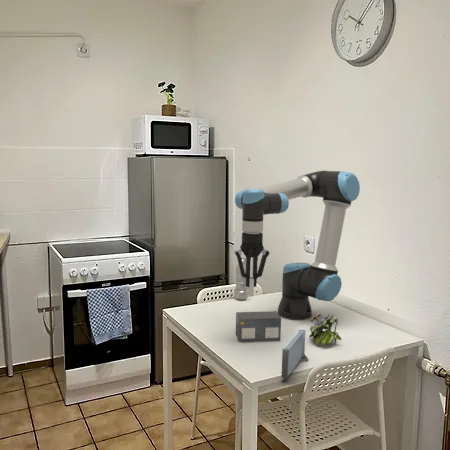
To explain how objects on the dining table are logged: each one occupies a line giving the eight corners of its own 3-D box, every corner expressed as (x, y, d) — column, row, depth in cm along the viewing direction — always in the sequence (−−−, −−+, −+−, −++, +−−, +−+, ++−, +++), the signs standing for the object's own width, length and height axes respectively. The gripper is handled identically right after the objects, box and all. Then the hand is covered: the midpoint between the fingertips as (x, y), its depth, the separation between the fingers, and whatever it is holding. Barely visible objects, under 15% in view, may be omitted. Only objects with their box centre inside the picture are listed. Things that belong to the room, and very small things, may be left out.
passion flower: (314, 353, 192) (316, 320, 198) (345, 354, 186) (346, 319, 192) (303, 344, 182) (305, 309, 188) (336, 344, 176) (337, 308, 182)
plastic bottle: (238, 301, 235) (239, 260, 232) (232, 298, 241) (233, 258, 238) (250, 300, 238) (251, 259, 235) (243, 296, 244) (244, 257, 241)
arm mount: (304, 356, 173) (304, 354, 173) (307, 361, 170) (308, 358, 169) (293, 356, 173) (293, 354, 173) (296, 361, 169) (296, 359, 169)
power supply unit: (275, 333, 195) (276, 311, 194) (280, 341, 187) (281, 318, 186) (235, 334, 193) (236, 312, 192) (239, 342, 185) (239, 319, 183)
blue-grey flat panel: (298, 353, 173) (299, 329, 171) (305, 355, 172) (306, 330, 170) (279, 377, 154) (281, 350, 153) (287, 379, 153) (288, 351, 152)
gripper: (267, 230, 182) (265, 291, 186) (232, 230, 180) (231, 292, 184) (272, 233, 175) (270, 297, 178) (236, 233, 173) (234, 298, 176)
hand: (250, 295), depth 181 cm, fingers closed
